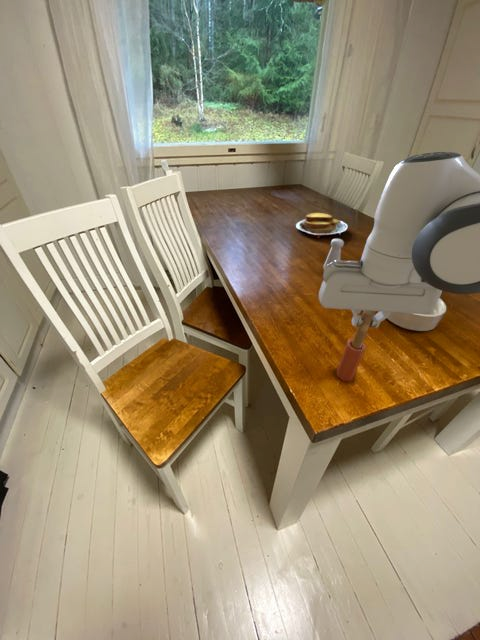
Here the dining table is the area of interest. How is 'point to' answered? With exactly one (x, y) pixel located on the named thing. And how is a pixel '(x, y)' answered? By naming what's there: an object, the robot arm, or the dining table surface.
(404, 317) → the bowl
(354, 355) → the utensil holder
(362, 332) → the stirring stick
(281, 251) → the dining table surface
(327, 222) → the food on plate
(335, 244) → the salt shaker
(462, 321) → the dining table surface
